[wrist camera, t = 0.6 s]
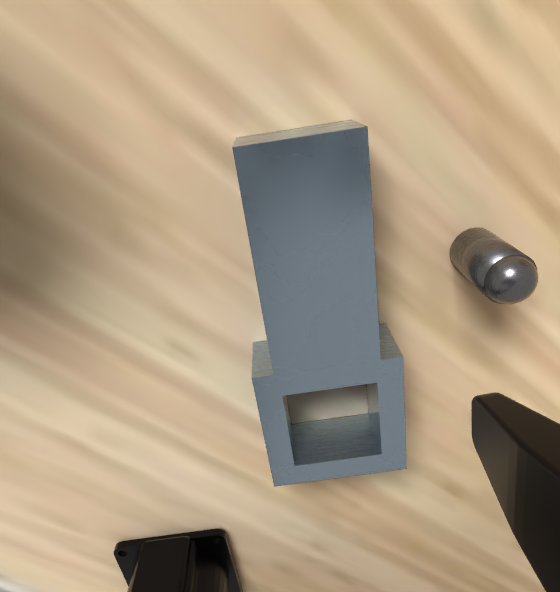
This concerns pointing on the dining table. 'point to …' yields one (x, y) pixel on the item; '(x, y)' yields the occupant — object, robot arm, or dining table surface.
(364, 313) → the link
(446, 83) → the dining table surface
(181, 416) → the dining table surface
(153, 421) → the dining table surface
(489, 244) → the cylinder
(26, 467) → the dining table surface
